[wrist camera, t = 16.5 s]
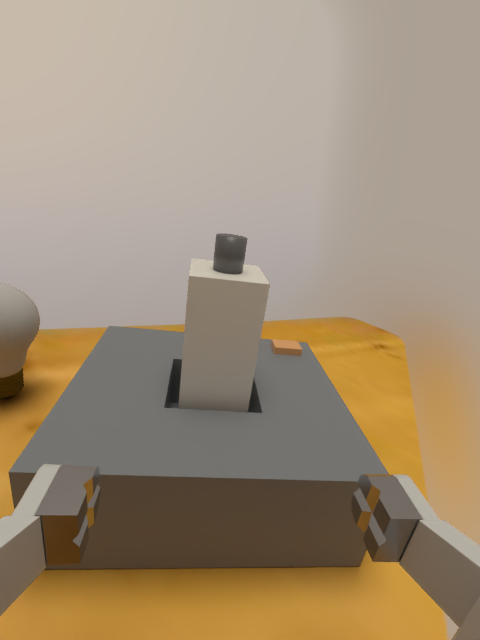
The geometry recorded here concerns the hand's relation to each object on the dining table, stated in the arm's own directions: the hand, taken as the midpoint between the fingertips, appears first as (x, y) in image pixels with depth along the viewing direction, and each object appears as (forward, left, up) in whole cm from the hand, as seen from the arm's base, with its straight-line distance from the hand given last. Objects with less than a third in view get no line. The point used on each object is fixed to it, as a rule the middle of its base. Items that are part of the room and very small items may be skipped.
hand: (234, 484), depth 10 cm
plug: (0, +12, -8) cm, 14 cm away
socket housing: (0, +12, -11) cm, 16 cm away
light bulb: (-17, +18, -11) cm, 27 cm away
